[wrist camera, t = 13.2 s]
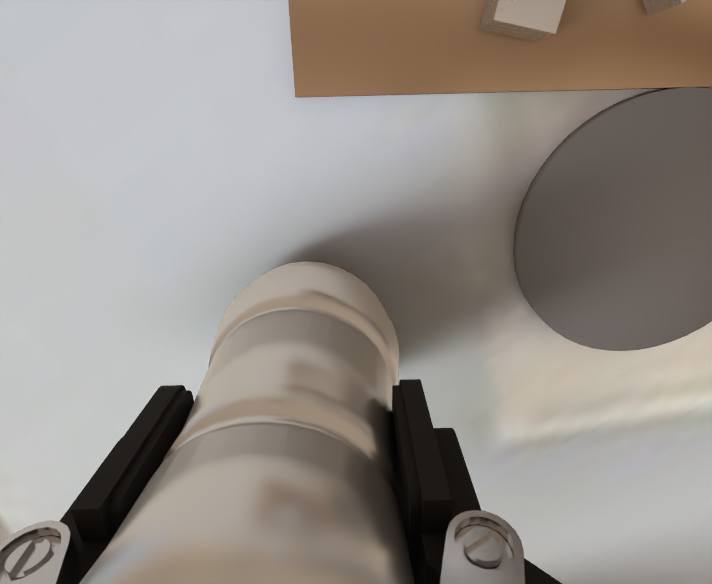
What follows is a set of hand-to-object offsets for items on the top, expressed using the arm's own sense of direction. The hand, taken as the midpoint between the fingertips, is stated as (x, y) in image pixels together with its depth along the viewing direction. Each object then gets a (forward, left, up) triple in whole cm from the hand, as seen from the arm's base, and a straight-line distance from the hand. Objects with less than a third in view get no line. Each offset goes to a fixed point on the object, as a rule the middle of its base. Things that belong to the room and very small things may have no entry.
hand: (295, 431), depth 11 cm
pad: (+3, -13, -7) cm, 15 cm away
